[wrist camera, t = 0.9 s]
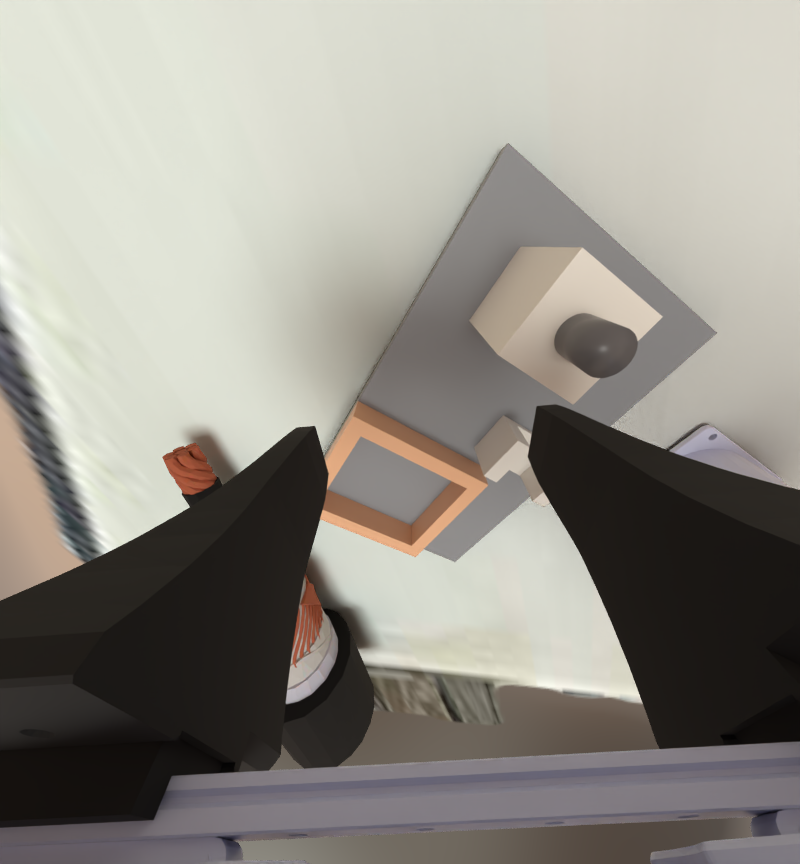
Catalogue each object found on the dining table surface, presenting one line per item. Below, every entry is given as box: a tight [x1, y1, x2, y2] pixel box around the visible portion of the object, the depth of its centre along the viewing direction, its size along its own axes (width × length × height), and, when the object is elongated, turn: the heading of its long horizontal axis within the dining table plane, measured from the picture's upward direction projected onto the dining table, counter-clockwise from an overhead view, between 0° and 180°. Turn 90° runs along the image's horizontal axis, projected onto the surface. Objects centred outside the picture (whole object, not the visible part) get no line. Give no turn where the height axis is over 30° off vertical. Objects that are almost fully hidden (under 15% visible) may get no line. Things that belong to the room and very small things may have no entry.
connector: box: [469, 247, 663, 404], centre depth 13 cm, size 4×4×8 cm
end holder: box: [320, 401, 488, 557], centre depth 22 cm, size 10×9×2 cm
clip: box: [474, 415, 550, 507], centre depth 19 cm, size 5×3×3 cm, turn 59°
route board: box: [324, 143, 717, 562], centre depth 20 cm, size 15×24×1 cm, turn 149°
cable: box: [163, 443, 374, 769], centre depth 27 cm, size 10×34×10 cm, turn 9°
